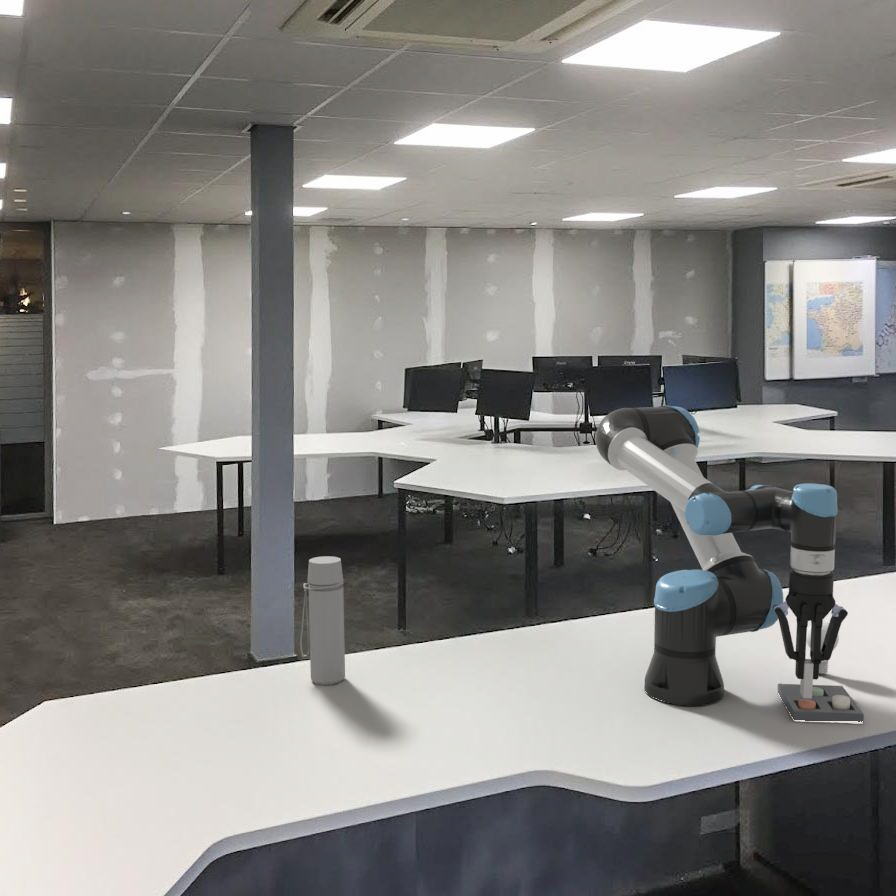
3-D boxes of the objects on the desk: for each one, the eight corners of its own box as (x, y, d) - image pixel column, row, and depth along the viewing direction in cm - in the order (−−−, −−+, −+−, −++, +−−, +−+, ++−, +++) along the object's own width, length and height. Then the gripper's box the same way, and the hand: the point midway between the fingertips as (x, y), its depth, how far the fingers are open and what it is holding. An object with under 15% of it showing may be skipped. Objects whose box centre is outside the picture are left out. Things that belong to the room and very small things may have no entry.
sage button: (808, 702, 187) (808, 692, 186) (804, 697, 190) (805, 686, 189) (825, 703, 186) (825, 692, 186) (820, 697, 189) (821, 687, 189)
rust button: (800, 715, 181) (800, 704, 180) (796, 709, 184) (796, 698, 183) (817, 716, 180) (817, 705, 180) (813, 710, 183) (813, 699, 183)
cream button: (834, 711, 180) (834, 700, 180) (830, 705, 183) (830, 694, 183) (851, 712, 180) (852, 701, 179) (847, 706, 182) (847, 695, 182)
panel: (794, 721, 179) (794, 711, 179) (777, 693, 193) (777, 683, 192) (863, 724, 178) (863, 713, 177) (841, 695, 191) (842, 685, 191)
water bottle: (349, 673, 206) (347, 555, 203) (341, 687, 198) (339, 564, 195) (306, 672, 207) (302, 555, 204) (296, 686, 199) (293, 564, 196)
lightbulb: (841, 679, 200) (844, 626, 199) (810, 679, 200) (812, 626, 199) (830, 668, 206) (832, 617, 205) (799, 668, 206) (801, 617, 205)
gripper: (778, 574, 176) (773, 701, 179) (855, 576, 174) (848, 704, 177) (770, 564, 183) (765, 686, 186) (843, 565, 182) (837, 689, 185)
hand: (805, 695), depth 182 cm, fingers closed
